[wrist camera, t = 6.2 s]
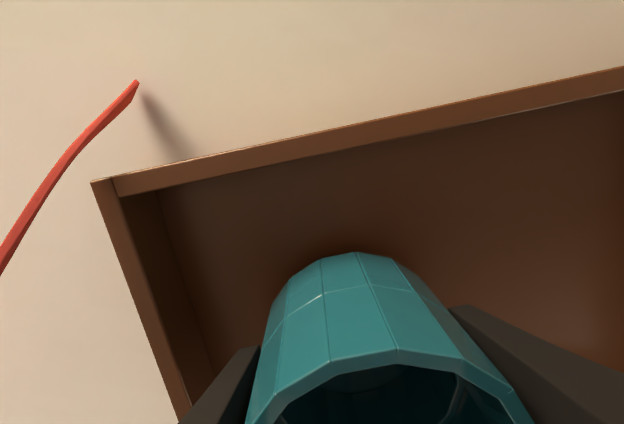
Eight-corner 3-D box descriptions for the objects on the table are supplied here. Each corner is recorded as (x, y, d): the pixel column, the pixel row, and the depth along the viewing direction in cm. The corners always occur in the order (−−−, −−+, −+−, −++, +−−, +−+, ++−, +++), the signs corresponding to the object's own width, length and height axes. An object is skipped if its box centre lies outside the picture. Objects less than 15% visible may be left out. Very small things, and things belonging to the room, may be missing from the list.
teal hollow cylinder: (442, 379, 11) (548, 566, 6) (289, 408, 11) (275, 611, 6) (422, 232, 10) (536, 321, 5) (251, 267, 10) (197, 385, 5)
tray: (680, 55, 10) (801, 27, 7) (662, 393, 13) (746, 452, 10) (139, 172, 11) (87, 181, 8) (238, 469, 13) (222, 542, 11)
